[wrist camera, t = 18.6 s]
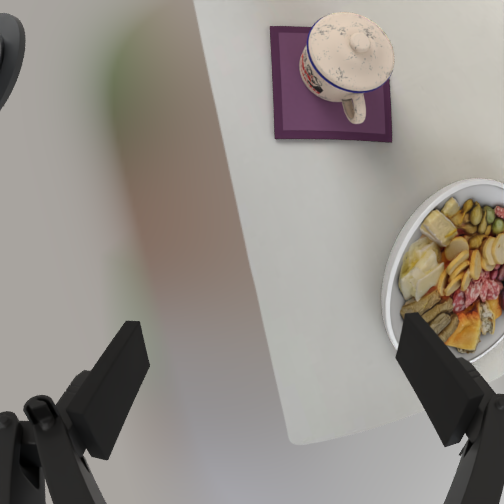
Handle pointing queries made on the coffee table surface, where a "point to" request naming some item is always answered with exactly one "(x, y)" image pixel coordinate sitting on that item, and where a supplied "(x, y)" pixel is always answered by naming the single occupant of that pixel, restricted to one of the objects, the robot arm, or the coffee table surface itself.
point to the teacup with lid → (346, 61)
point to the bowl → (451, 268)
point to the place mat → (318, 99)
